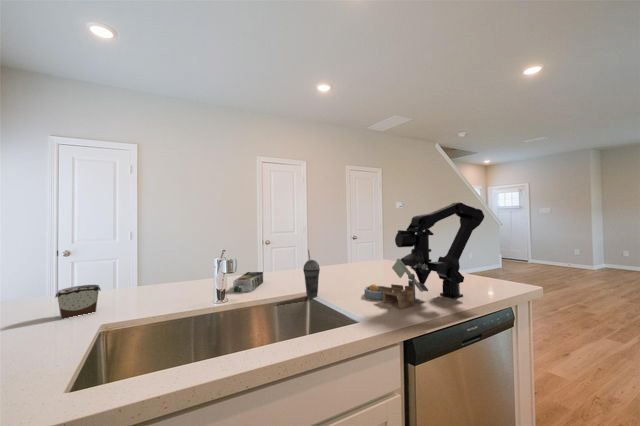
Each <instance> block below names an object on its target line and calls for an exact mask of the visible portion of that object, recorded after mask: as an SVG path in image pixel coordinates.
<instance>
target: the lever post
mask: <svg viewBox="0 0 640 426" xmlns="http://www.w3.org/2000/svg"><path fill="white" fill-rule="evenodd" d="M407 282H408V283H407V284H408V285H407V286H413V290H414V291H413V295H414V304H415V303H419V302H421V300H420V299H419V298H417V297H416V285H415V281H412V280H410V279H408V281H407Z"/></svg>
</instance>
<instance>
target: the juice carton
mask: <svg viewBox="0 0 640 426" xmlns="http://www.w3.org/2000/svg"><path fill="white" fill-rule="evenodd" d="M232 283H233V284H232V286H233V287H232V290H233V293H236V292H241V293H253V292H254V291H255V290H256V289H257V288H258V287H260V285H262V284H263V283H264V272H263V271H252V272H251V271H250V272H249V271H247V272H245V273H244V274H242V275H241V276H239V277H238V278H236V279H234V280H233V281H232Z"/></svg>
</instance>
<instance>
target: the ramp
mask: <svg viewBox="0 0 640 426" xmlns="http://www.w3.org/2000/svg"><path fill="white" fill-rule="evenodd" d="M380 286H381V287H380V293H382V294H383V300H382V302H383V303H389V302H393V301H394V302H395V301H397V307H398V309H406V308H410V307H414V306H415V303H414V295H413V291H414V290H413V286H409V285H402V284H390V286H385V287H383V286H384V285H380Z"/></svg>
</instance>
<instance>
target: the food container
mask: <svg viewBox="0 0 640 426" xmlns="http://www.w3.org/2000/svg"><path fill="white" fill-rule="evenodd" d="M100 291H101V287H100V285H99V284H83V285H75V286H71V287H66V288H62V289H60V290H58V291H56V293H55V296H54V298H57V302H58V309H59V315H60V320H61V319H63V320H65V319H64V318H68V319H70V318H69V317H73V316H77V317H79V316H78V315H82V316H84V315H83V314H87V315H89V314H88V313H92V312H96V313H97V307H98V299H99V298H98V297H99V292H100ZM92 314H93V313H92ZM73 318H74V317H73Z"/></svg>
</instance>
